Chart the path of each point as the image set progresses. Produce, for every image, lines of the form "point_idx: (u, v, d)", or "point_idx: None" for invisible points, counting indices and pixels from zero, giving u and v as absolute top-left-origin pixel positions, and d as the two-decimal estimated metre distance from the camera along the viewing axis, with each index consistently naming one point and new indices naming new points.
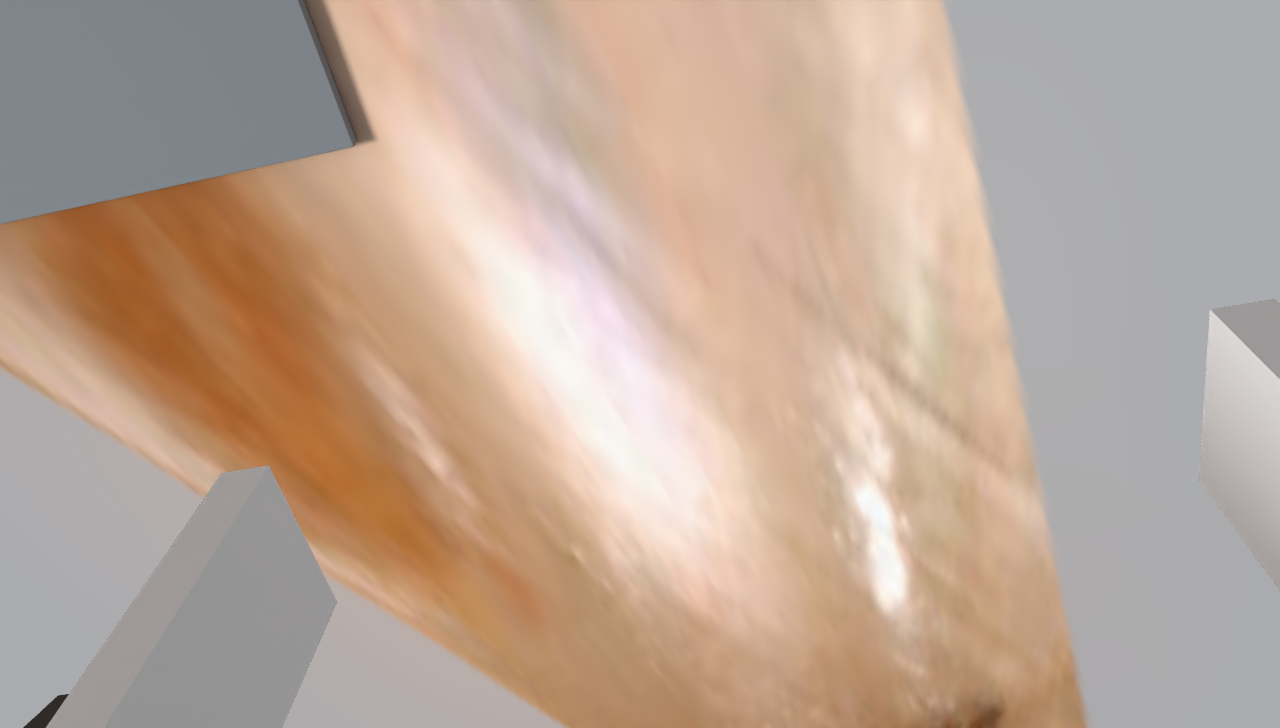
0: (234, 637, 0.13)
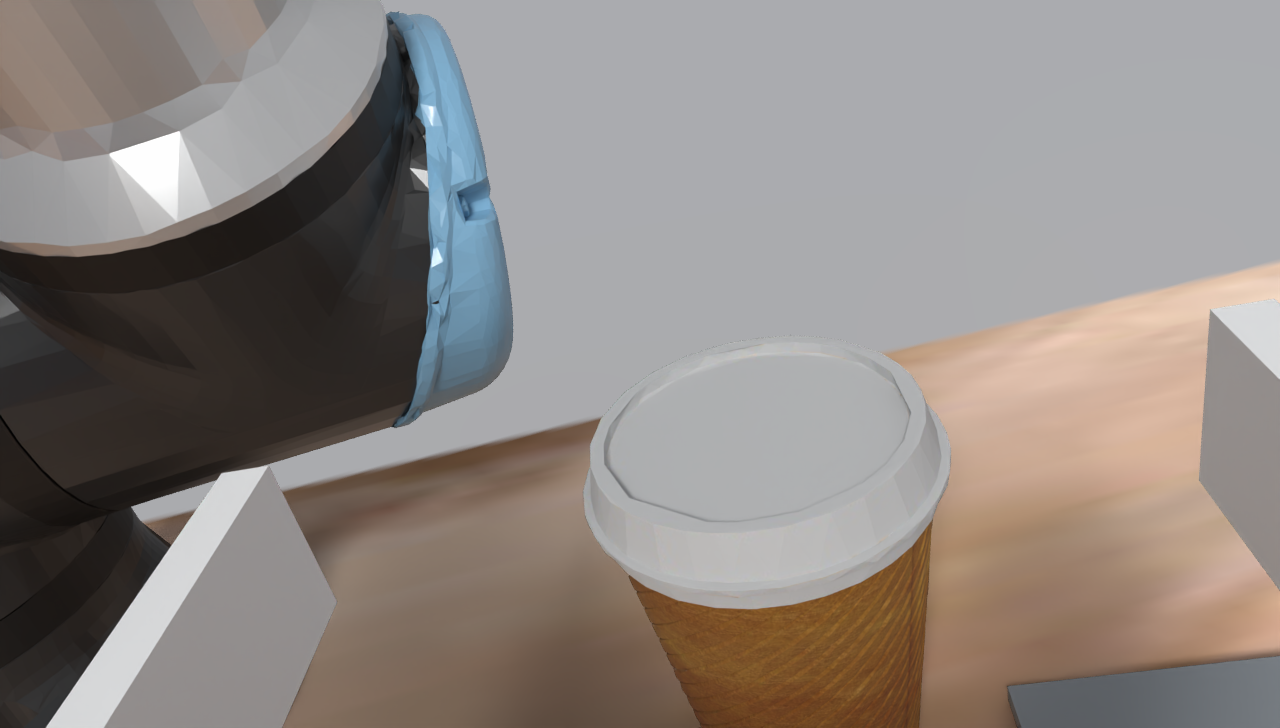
0: (234, 637, 0.13)
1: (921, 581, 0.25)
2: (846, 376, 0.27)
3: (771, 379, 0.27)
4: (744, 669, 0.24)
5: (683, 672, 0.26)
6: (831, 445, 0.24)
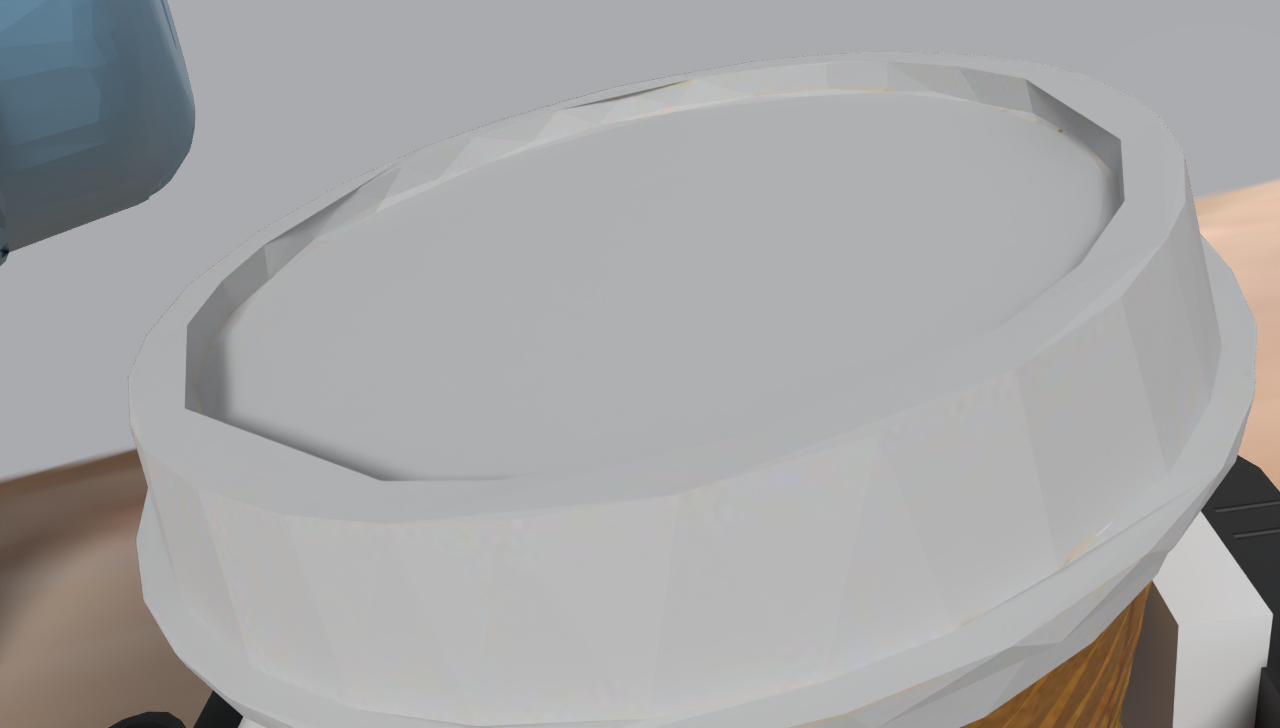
0: None
1: (1128, 675, 0.08)
2: (895, 117, 0.10)
3: (702, 142, 0.11)
4: None
5: None
6: (862, 249, 0.08)
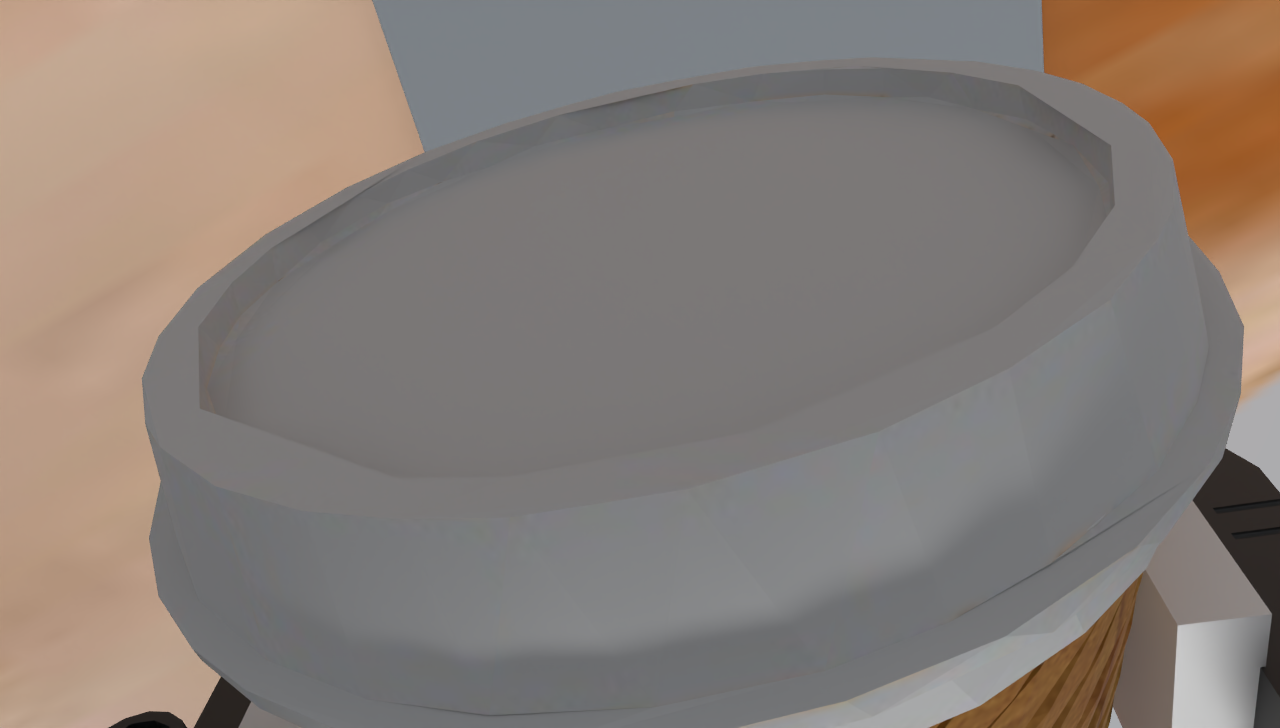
0: None
1: (1119, 667, 0.09)
2: (891, 122, 0.10)
3: (702, 146, 0.11)
4: None
5: None
6: (859, 252, 0.08)
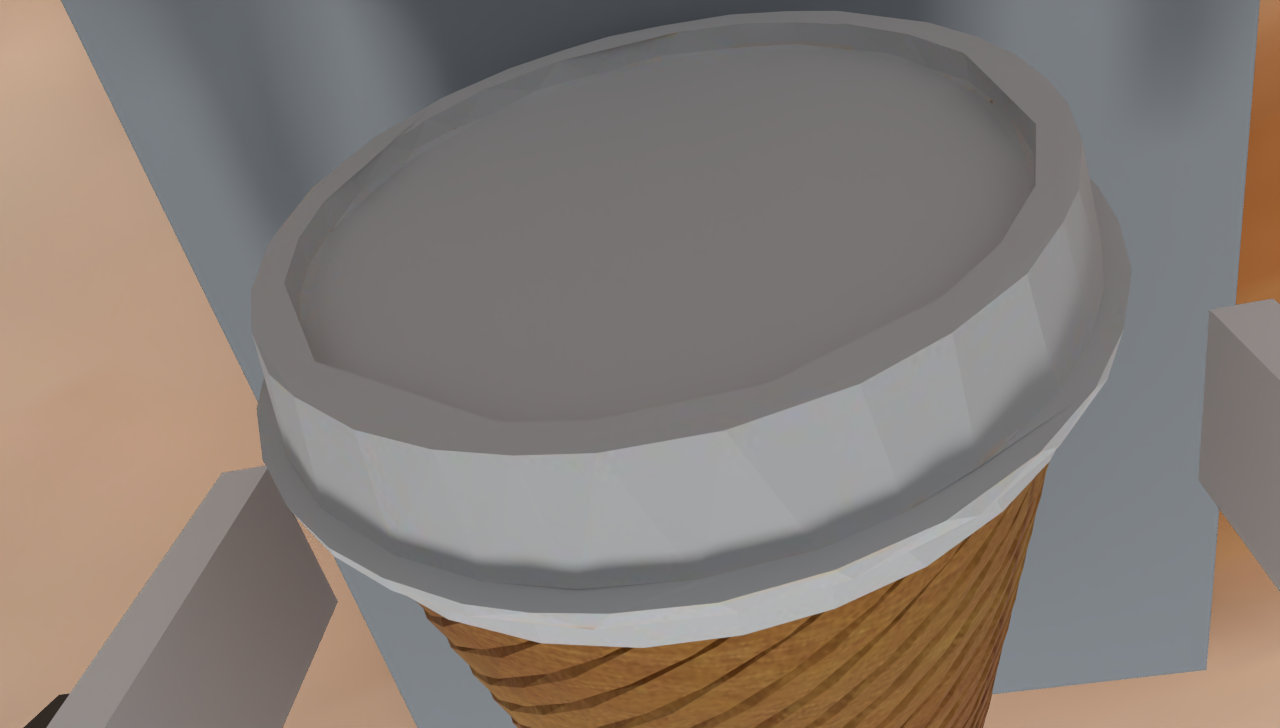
0: (235, 636, 0.13)
1: (1031, 528, 0.11)
2: (856, 78, 0.12)
3: (691, 96, 0.13)
4: None
5: (515, 723, 0.13)
6: (835, 214, 0.10)
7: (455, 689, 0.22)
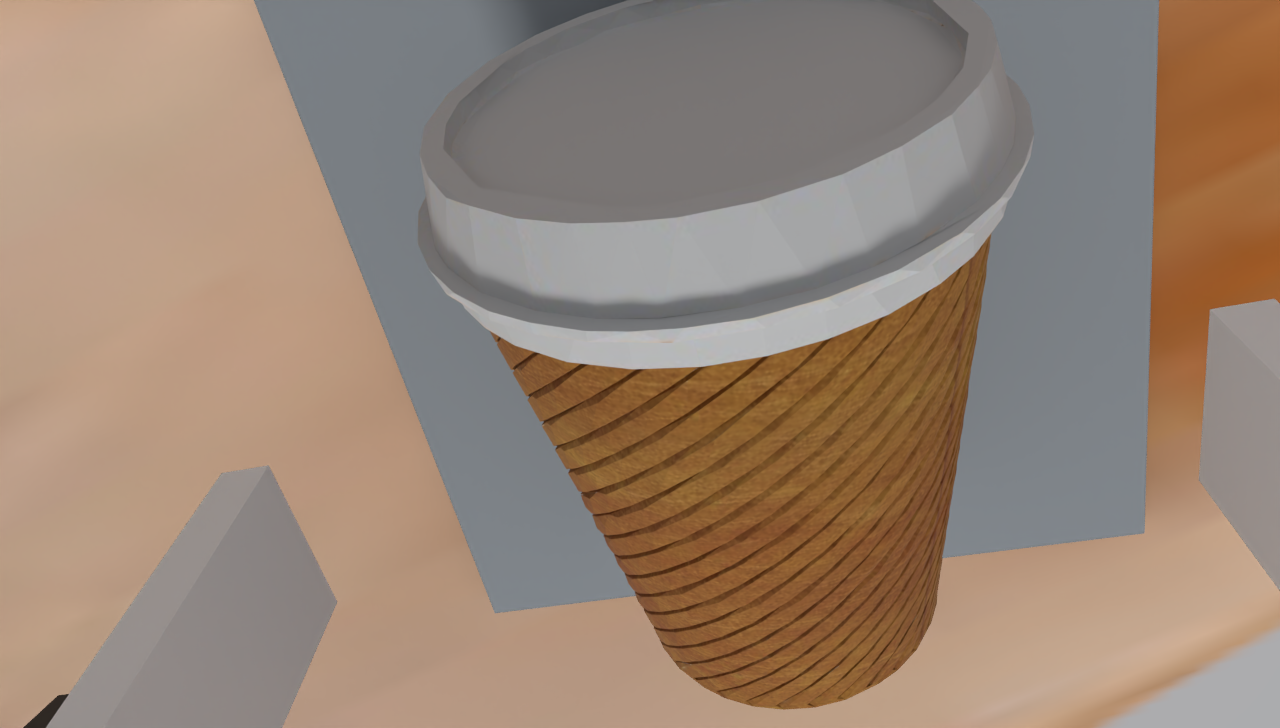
0: (234, 637, 0.13)
1: (972, 334, 0.15)
2: (847, 15, 0.16)
3: (725, 31, 0.17)
4: (687, 481, 0.15)
5: (592, 496, 0.17)
6: (831, 96, 0.14)
7: (517, 549, 0.26)
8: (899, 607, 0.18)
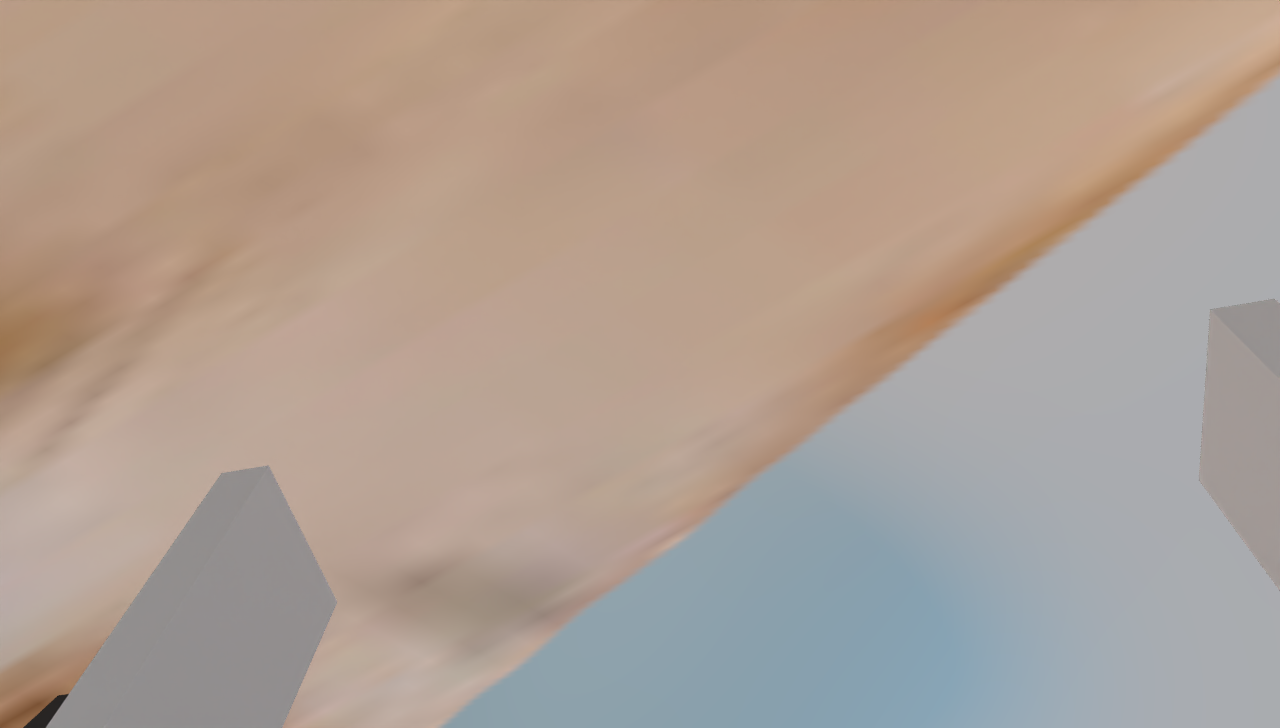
0: (234, 637, 0.13)
1: None
2: None
3: None
4: None
5: None
6: None
7: None
8: None
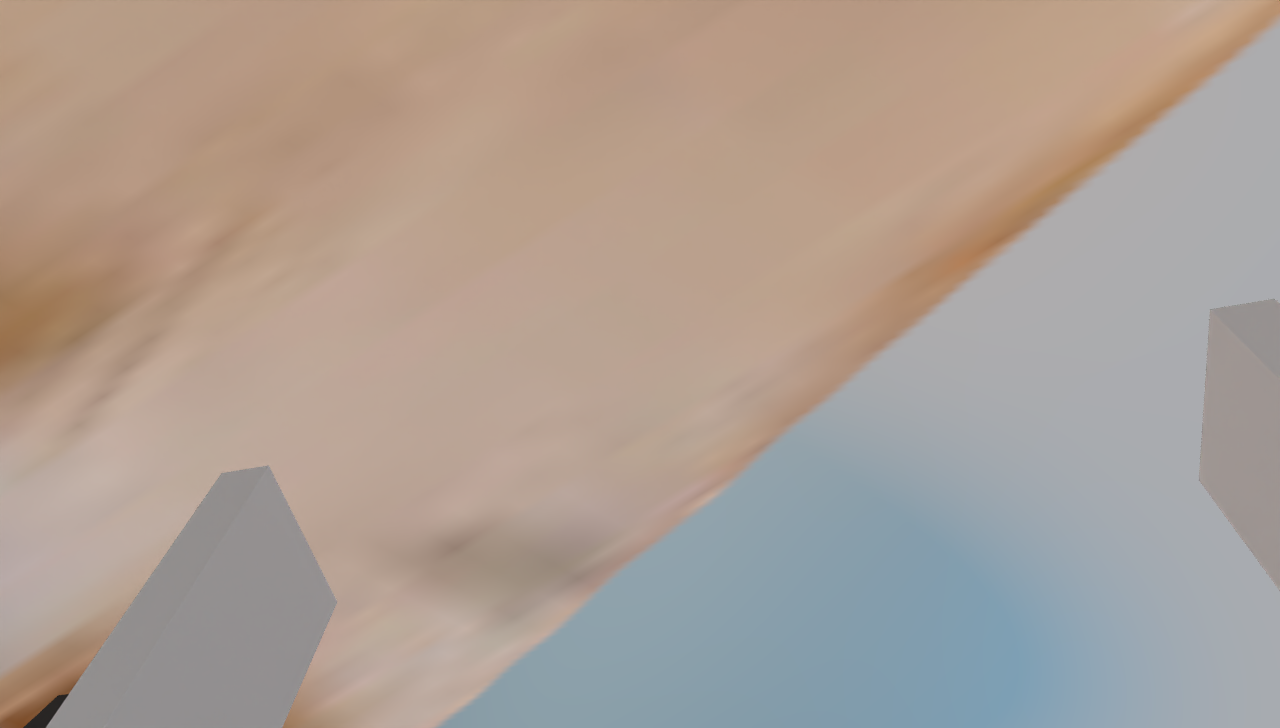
0: (234, 637, 0.13)
1: None
2: None
3: None
4: None
5: None
6: None
7: None
8: None
